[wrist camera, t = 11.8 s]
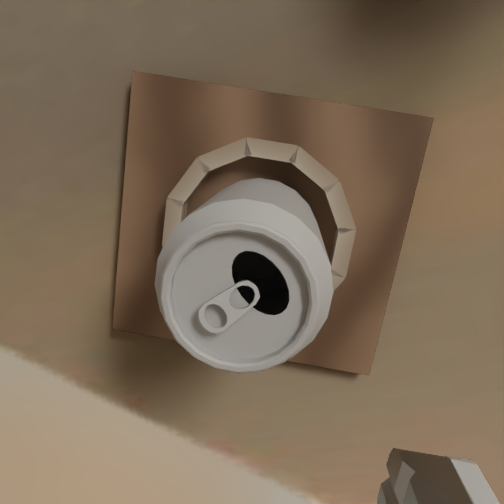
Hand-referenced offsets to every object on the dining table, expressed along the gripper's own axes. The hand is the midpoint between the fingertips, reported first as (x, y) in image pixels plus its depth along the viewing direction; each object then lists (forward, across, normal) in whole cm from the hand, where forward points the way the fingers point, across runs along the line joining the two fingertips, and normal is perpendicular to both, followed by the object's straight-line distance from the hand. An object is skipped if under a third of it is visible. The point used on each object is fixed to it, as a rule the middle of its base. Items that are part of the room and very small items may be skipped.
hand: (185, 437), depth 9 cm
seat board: (+21, 0, 0) cm, 21 cm away
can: (+20, 0, 0) cm, 20 cm away
